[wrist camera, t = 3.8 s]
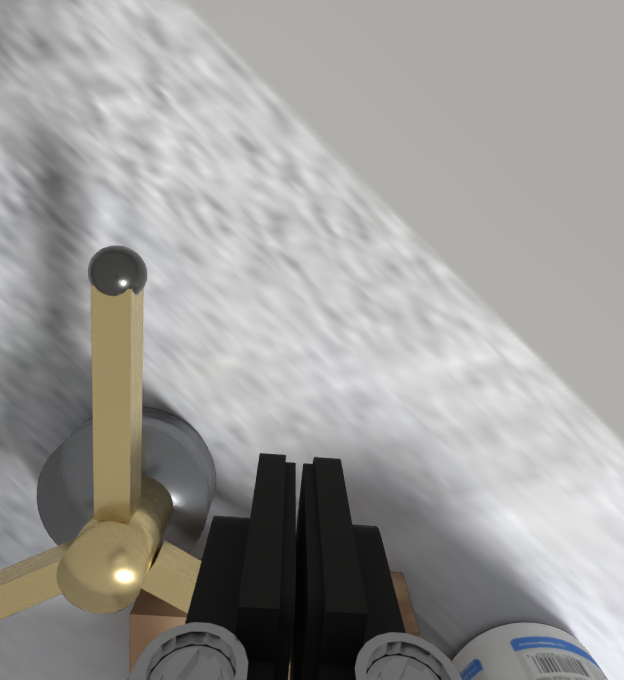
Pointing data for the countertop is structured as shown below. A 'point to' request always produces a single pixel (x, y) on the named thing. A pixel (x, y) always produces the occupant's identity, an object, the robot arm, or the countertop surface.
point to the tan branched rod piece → (118, 476)
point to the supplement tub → (526, 655)
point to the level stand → (161, 616)
